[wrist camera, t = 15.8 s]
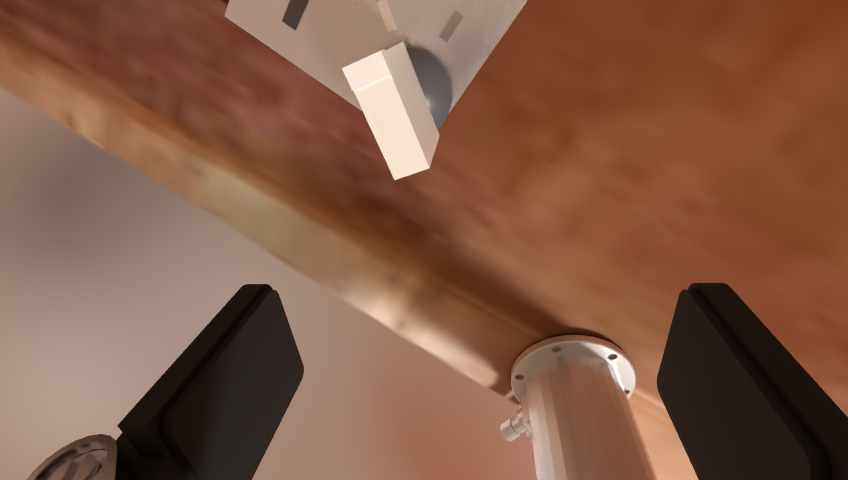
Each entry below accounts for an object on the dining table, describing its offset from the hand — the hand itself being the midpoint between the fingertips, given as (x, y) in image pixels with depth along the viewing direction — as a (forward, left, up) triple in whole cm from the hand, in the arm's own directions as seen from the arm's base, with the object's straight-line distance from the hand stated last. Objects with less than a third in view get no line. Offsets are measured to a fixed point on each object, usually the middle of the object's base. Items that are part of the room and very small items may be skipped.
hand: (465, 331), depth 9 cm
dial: (-2, +5, -21) cm, 22 cm away
